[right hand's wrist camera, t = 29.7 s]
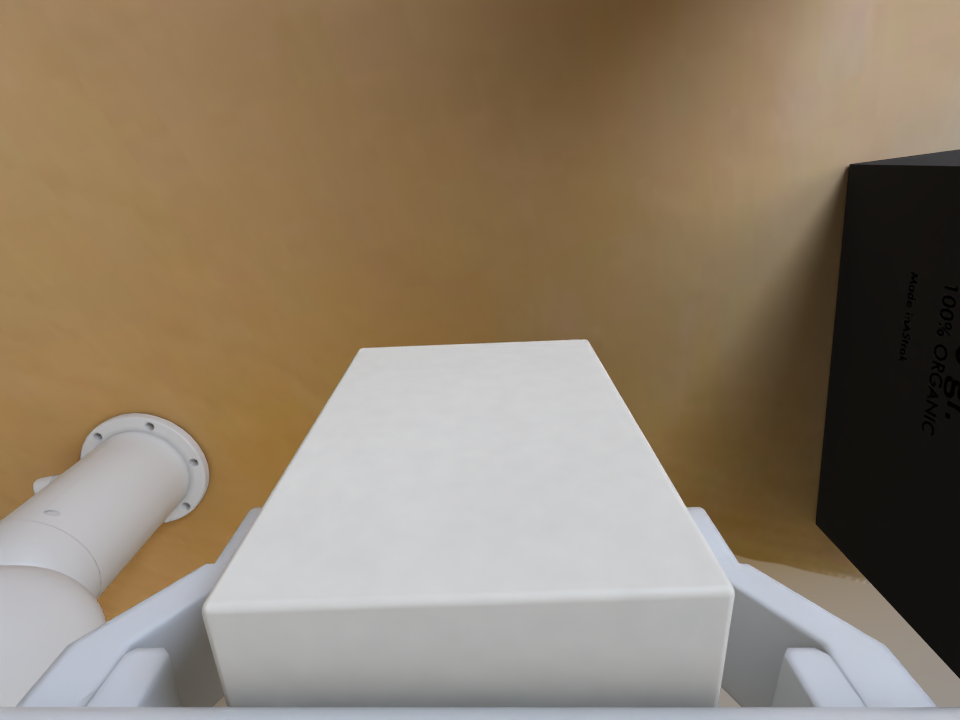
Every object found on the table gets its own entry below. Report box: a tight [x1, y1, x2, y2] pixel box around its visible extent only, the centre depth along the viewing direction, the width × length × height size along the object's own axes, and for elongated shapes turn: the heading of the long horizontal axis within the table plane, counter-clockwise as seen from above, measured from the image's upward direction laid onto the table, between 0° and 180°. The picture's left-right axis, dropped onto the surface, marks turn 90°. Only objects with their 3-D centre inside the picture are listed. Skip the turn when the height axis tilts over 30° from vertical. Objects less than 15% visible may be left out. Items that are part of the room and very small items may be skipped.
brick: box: [202, 339, 735, 707], centre depth 10 cm, size 5×5×8 cm
